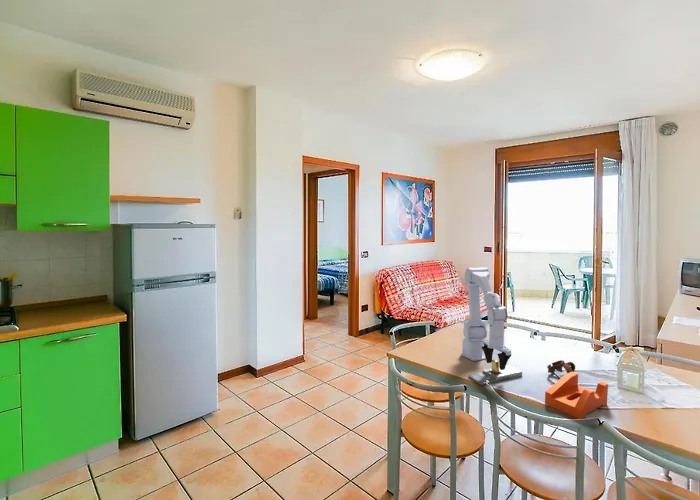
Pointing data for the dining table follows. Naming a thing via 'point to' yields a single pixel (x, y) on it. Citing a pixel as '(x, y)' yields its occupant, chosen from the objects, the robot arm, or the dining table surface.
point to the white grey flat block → (503, 375)
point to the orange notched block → (575, 396)
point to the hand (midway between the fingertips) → (495, 365)
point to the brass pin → (495, 367)
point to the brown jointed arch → (559, 365)
